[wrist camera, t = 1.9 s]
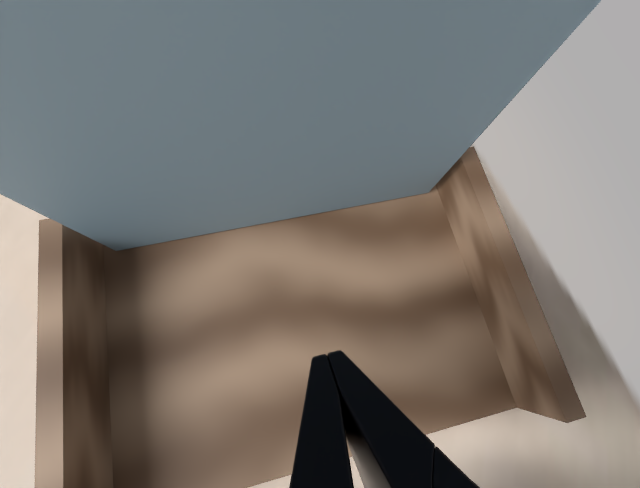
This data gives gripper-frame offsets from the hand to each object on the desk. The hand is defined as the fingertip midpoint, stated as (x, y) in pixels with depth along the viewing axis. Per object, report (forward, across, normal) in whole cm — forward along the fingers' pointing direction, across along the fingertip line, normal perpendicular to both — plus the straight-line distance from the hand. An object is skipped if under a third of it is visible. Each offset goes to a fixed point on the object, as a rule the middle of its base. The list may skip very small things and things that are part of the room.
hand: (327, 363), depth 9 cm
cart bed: (+11, 0, +8) cm, 14 cm away
